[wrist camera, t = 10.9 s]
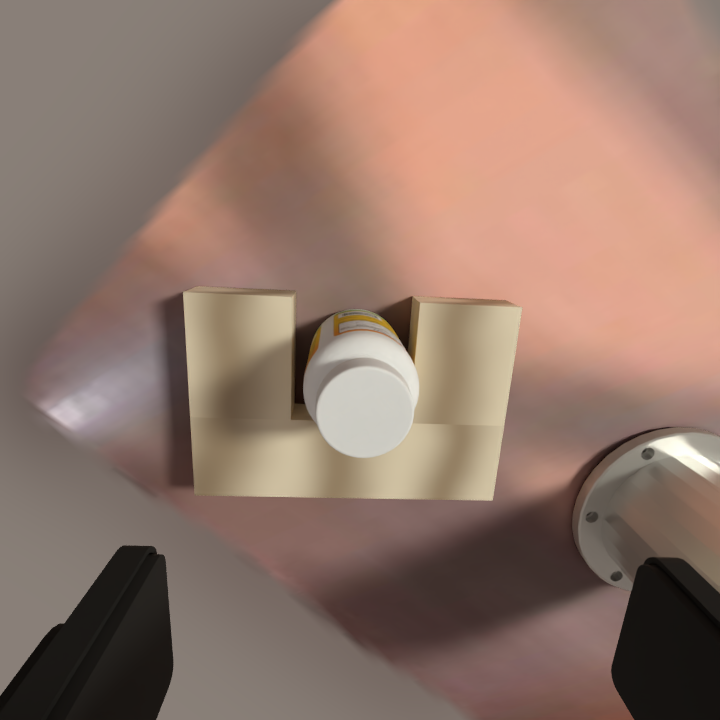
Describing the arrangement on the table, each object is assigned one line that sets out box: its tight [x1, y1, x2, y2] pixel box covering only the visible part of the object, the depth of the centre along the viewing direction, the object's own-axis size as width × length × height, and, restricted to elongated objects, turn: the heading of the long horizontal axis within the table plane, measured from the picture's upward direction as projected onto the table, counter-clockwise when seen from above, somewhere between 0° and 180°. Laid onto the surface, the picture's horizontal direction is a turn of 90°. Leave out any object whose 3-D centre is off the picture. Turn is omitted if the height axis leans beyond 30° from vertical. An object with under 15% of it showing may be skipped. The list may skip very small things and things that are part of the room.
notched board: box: [183, 286, 522, 500], centre depth 26 cm, size 18×12×2 cm, turn 87°
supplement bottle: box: [303, 309, 419, 458], centre depth 22 cm, size 5×5×10 cm
